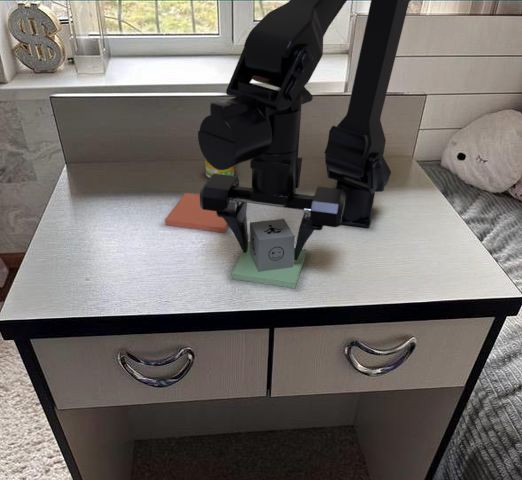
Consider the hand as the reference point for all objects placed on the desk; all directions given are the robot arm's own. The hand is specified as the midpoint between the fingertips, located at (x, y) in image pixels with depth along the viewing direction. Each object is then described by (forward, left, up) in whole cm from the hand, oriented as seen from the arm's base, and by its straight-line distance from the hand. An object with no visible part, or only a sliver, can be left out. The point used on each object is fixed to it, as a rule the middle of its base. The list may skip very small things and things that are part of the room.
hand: (270, 255), depth 75 cm
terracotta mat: (+14, -12, -2) cm, 19 cm away
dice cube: (0, 0, -1) cm, 1 cm away
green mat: (0, 0, -2) cm, 2 cm away
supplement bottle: (+16, -28, -2) cm, 33 cm away
